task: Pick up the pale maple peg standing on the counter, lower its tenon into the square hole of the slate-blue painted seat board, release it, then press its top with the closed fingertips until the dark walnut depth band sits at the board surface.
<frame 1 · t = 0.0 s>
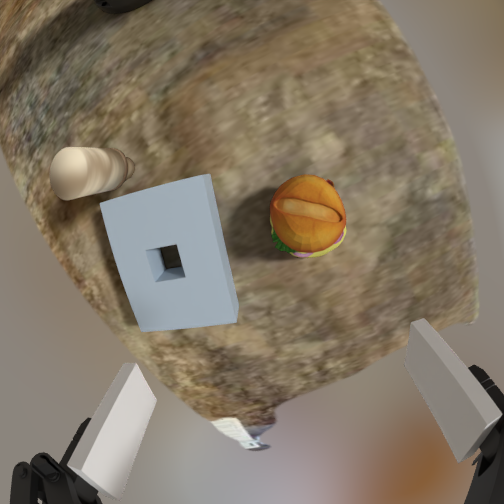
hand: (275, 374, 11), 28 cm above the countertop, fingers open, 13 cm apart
cheeseburger: (303, 215, 38), on the countertop
peg: (124, 168, 36), on the countertop
board: (175, 252, 39), on the countertop
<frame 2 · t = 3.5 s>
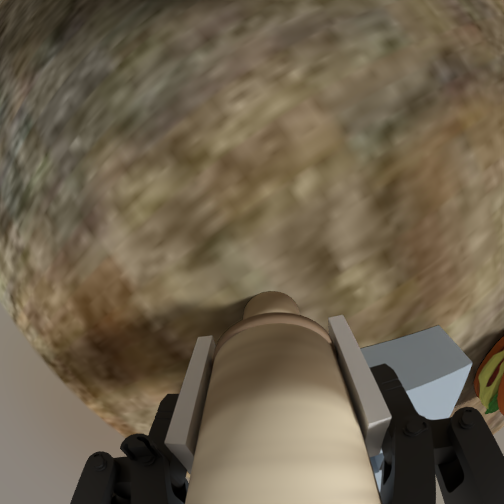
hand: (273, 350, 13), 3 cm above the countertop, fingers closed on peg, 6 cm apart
cheeseburger: (498, 354, 18), on the countertop
peg: (271, 316, 16), on the countertop, touching gripper
board: (346, 428, 20), on the countertop
when the fingers open (7 cm above the countertop, at t = 8.4 s): peg drops 3 cm, resting on board.
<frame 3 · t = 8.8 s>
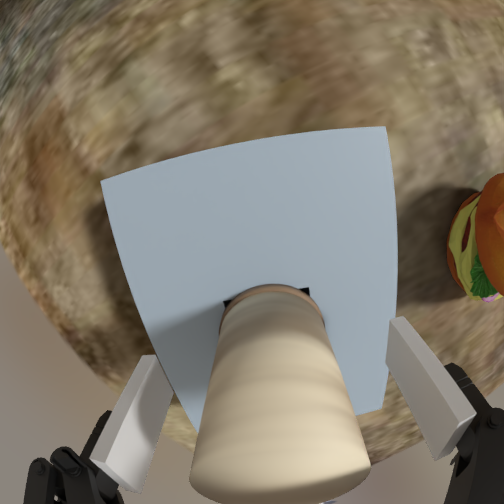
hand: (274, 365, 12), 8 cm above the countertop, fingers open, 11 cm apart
cheeseburger: (474, 232, 18), on the countertop
peg: (269, 295, 19), resting on board
board: (269, 291, 20), on the countertop
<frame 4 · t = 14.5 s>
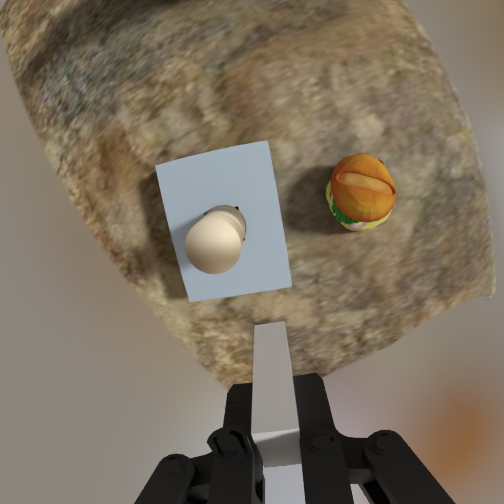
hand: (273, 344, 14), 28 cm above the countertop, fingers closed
cheeseburger: (352, 192, 39), on the countertop
peg: (227, 220, 40), resting on board
board: (228, 219, 40), on the countertop
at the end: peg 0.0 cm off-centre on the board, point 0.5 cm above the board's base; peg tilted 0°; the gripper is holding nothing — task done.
